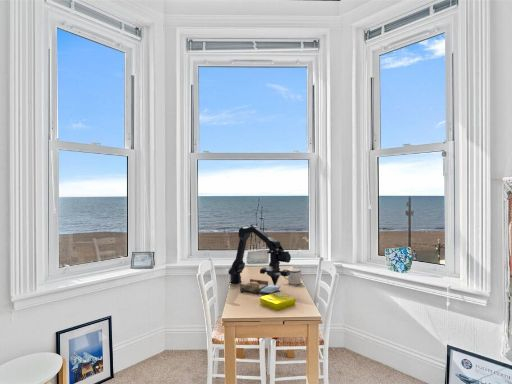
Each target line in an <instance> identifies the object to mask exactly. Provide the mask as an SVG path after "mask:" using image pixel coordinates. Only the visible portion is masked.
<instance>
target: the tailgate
mask: <svg viewBox="0 0 512 384" xmlns="http://www.w3.org/2000/svg"><path fill="white" fill-rule="evenodd" d="M280 288H281V285H277V284H276V285H275V286H274V284H268V286H266V287H265V288H263V289H261V290H260V292H263V293H267V294H273V293H275V291H277V290H278V289H280Z"/></svg>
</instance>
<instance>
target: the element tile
mask: <svg viewBox="0 0 512 384" xmlns="http://www.w3.org/2000/svg"><path fill="white" fill-rule="evenodd" d="M259 305H260V306H263V307H264V308H268V309H270V310H272V311H275V312H279V311H283V310H286V309H289V308H291V307H296V297H294V296H291V295H288V294H287V293H286V294H285V293H282V292H280V291H278V292H273V293H268V294H266V295H263V296H260V297H259Z"/></svg>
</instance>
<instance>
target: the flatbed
mask: <svg viewBox="0 0 512 384" xmlns="http://www.w3.org/2000/svg"><path fill="white" fill-rule="evenodd" d="M250 282H257V283H259V286H252V285H249V283H250ZM268 285H269V281H268V280H262V279H253V278H249V282H248V283H244V284H243V283H239V290H240V291H239V292H241V293H243V292H245V291H247V292H252V294H253V295H256V294H257V293H259V294H258V295H261V294H263V293H264V292H260V290H261V289H263V288H265V287H266V286H268Z"/></svg>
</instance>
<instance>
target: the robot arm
mask: <svg viewBox="0 0 512 384" xmlns="http://www.w3.org/2000/svg"><path fill="white" fill-rule="evenodd" d="M251 234H254V235H255V236H257V237H258V238H259V239H260V240H262V241H263V242H264V243H265V245H266V247H267V248H268V251H267V252H266V253H267V254H269V255H270V256H269V261H270V262H269V263H268V264H269V265H268V266H267V267H262V268H260V270H259V274H261V275H262V274H263V275H264V274H265V273H266V275H267V276H268V277H270V279H271V281H272V283H273V284H272V285H274V286H275V285H277V283H278V280H279V278H280V277H284V276H285V277H288V275H290V271H289V270H288V269H283V270H281V268H280V264H281V263H287V264H288V263H290V262H291V258H292V257H291V254H290V252H289V251H288V250H287V251H285V250H284V249H283V246H282V244H281V242H280V241H279V240H277V239H276V238H273V237H271V236H269V235H268V234H267V233H266V232H264V231H263V229H261V228H260V227H259V226H257V225H253V226H251V227H249V226H245V227H240V228H239V229H238V240H239V241H238V246H237V251H236V255H235V259H234V260H233V262H232V265H231V268H230V269H229V270H228V274H229V275H230V281H229V284H234V285H238V284H241V283H242V275H241V274H242V273H243V270H244V269H245V265H246V263H245V262H244V256H245V251H246V245H247V241H248V239H250V237H251Z"/></svg>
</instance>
